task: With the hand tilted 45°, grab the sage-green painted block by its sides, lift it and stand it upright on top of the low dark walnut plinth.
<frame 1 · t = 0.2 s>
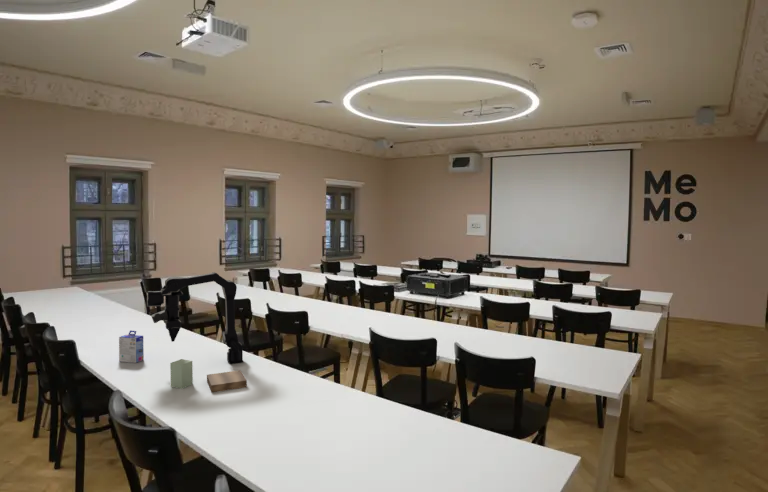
hand: (171, 338, 219), 14 cm above the table, tool pointing down, fingers open, 9 cm apart
walnut plinth: (226, 384, 203), on the table
ink cartridge box: (131, 361, 233), on the table
sage block: (181, 385, 202), on the table
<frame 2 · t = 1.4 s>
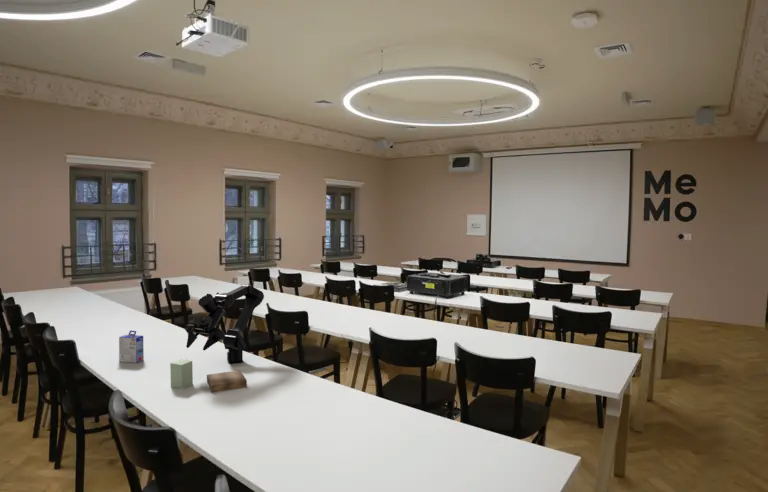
hand: (195, 348, 208), 13 cm above the table, tool tilted 45°, fingers open, 9 cm apart
nothing on the table moved.
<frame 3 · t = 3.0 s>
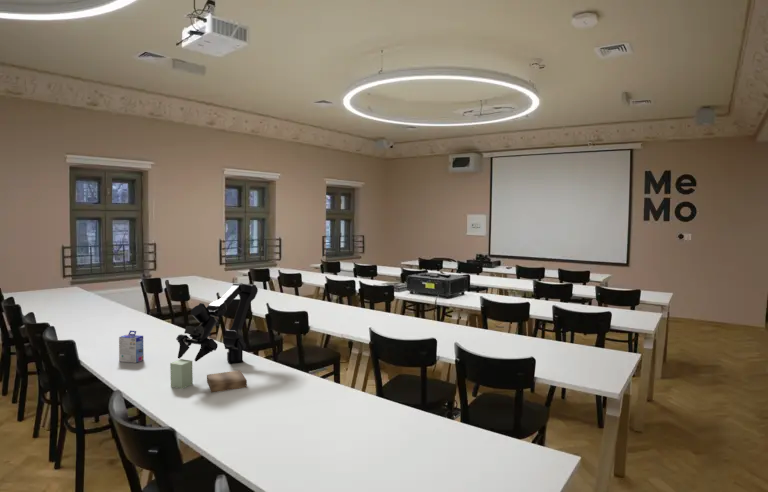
hand: (186, 359, 204), 10 cm above the table, tool tilted 45°, fingers open, 9 cm apart
nothing on the table moved.
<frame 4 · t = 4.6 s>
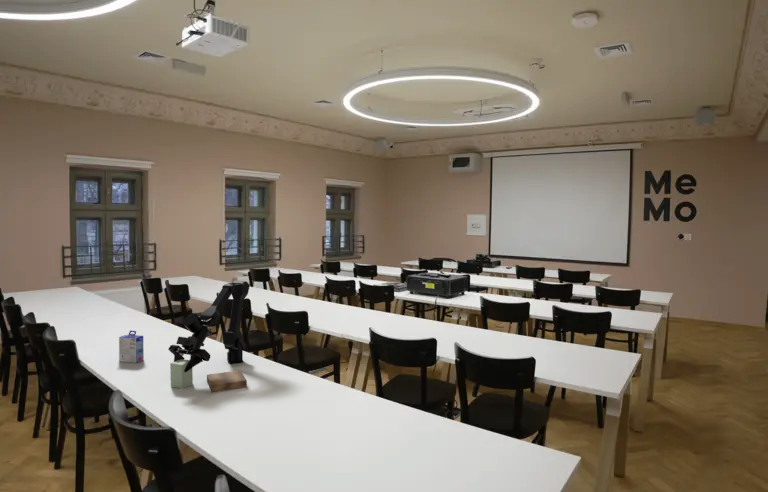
hand: (179, 370, 200), 7 cm above the table, tool tilted 45°, fingers closed on sage block, 6 cm apart
sage block: (181, 385, 202), on the table, touching gripper
everything else where it was.
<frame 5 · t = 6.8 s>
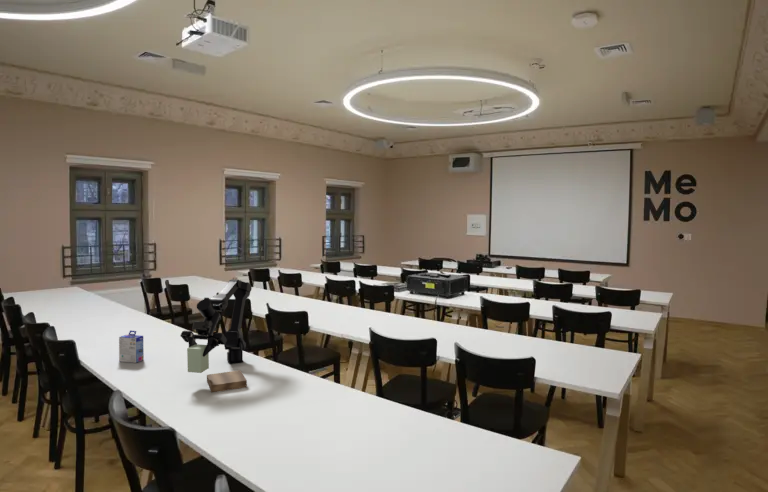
hand: (196, 355, 199), 13 cm above the table, tool tilted 45°, fingers closed on sage block, 6 cm apart
sage block: (198, 370, 201), point 7 cm above the table, touching gripper
everything else where it was.
when the fingers open (10 cm above the table, at t = 9.2 s): sage block stays where it is, resting on walnut plinth.
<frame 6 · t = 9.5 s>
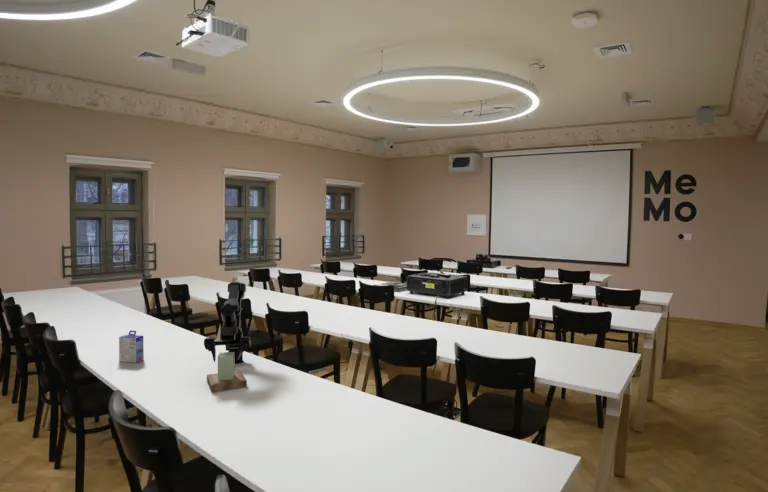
hand: (225, 361, 201), 11 cm above the table, tool tilted 45°, fingers open, 9 cm apart
sage block: (226, 377, 203), point 3 cm above the table, touching walnut plinth
everything else where it was.
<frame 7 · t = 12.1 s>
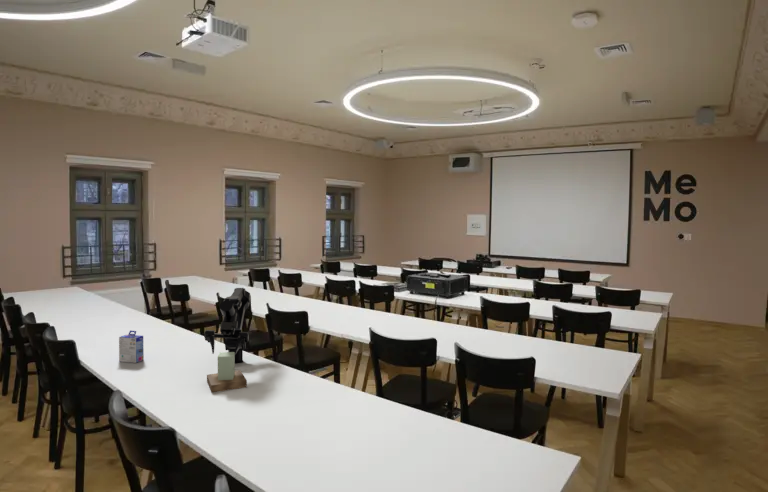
hand: (223, 354, 210), 11 cm above the table, tool tilted 40°, fingers open, 9 cm apart
nothing on the table moved.
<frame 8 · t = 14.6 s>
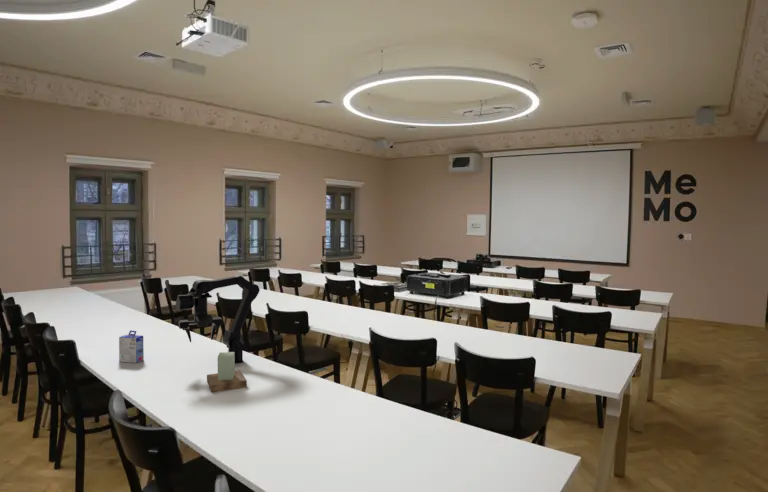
hand: (201, 341, 222), 13 cm above the table, tool pointing down, fingers open, 9 cm apart
nothing on the table moved.
at the end: sage block inside the target area on the walnut plinth (0.0 cm from its centre), point 3.0 cm above the walnut plinth's base; sage block tilted 0°; the gripper is holding nothing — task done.
